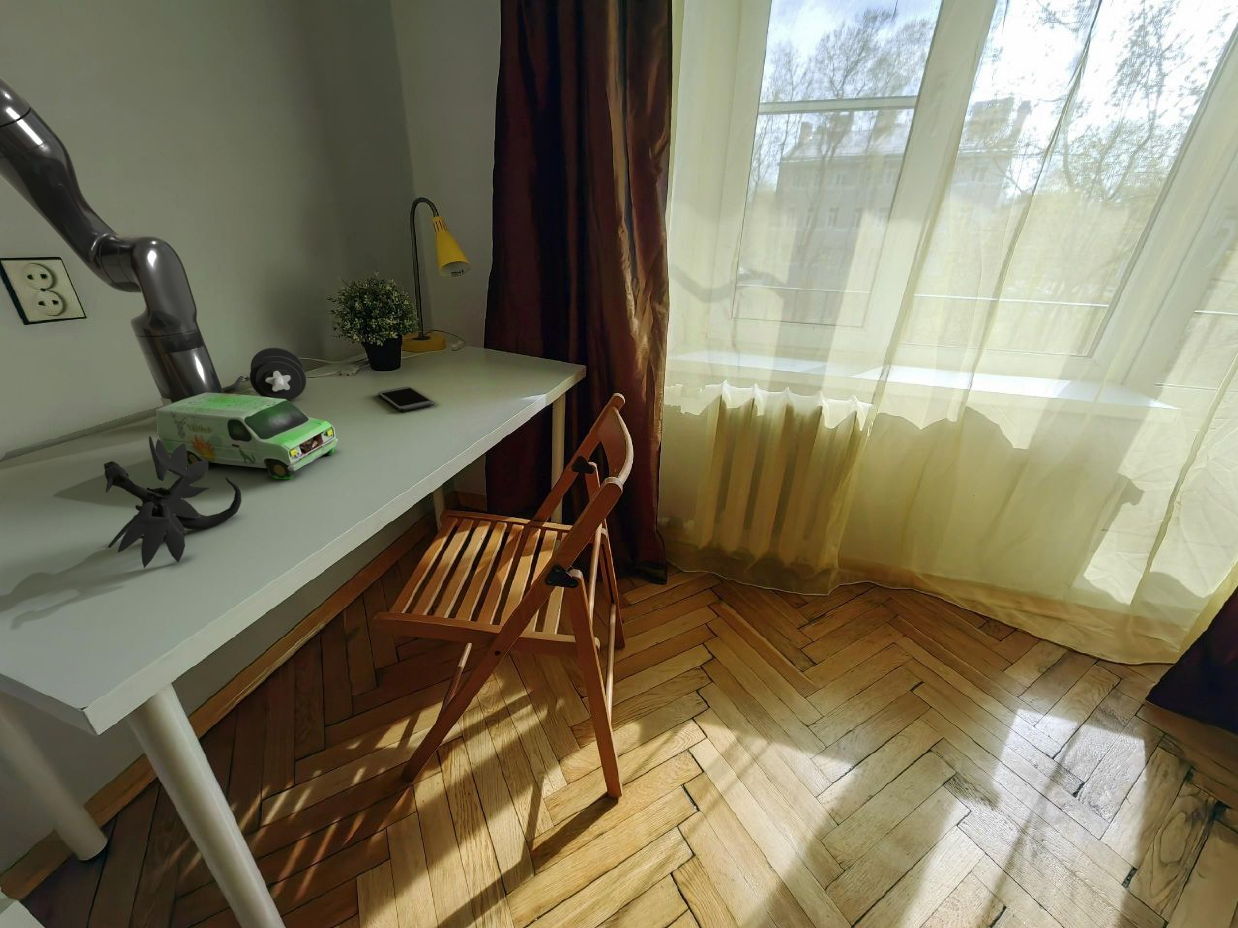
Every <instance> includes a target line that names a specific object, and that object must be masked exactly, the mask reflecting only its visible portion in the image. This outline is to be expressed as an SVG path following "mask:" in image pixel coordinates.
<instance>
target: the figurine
mask: <svg viewBox="0 0 1238 928" xmlns="http://www.w3.org/2000/svg"><path fill="white" fill-rule="evenodd" d="M148 445H149V449H150V454H151V457H152V461H153V465H154V467H155V474H156V478H157V479H158V481H160V482H164V480H165V477H166V474H167V473H168V472H169V473H171V474H173V475H176V476H178V478H177V479H176V481H174V482H173V484H172V485H171V486H170V487H168V488H165V487H155V488H150V487H146V488H144V487H142V486H140V485H138V484H136V483H135V482H134V481H133V480H132V479H131V478H130V474H129V473H128V472H127V471H126V469H124V468H123V467H121V466H120V464H119V463H117V462H116V461H114V460H110V461H108V462H105V463H103V467H104V477H105V479H106V481H107V482H106V487H105V490H104V494H107V493H108V492H109V491H110V490H111V489H112V488H113V486H114V487H117V488H120V489H122V490H124V491H126V492H128V493H129V494H131V495H133V496H134V497H136V498H138V499H139V500H141V505H139V504H135V506H134V508H135V510H136V511H138V512H137V514H135V515H133V517H132V518H131V519H130V520H129V521H128V522H127V523H126V524H125V525H124V526H123V527H122V528H121V530H119V532H118V533H117V534H116V535H115V536H114V538H113V539H112V540H111V542H110V543H109V544H108V547H107V548H108V549H111V548H112V547H113V546H114V545H116V543H117V542H118V541H119V540H120V538H121V540H120V543H119V546H118V548H117V554H119V553H121V552H123V551H125V550H126V549H128V548H129V547H131V546H132V545H134V543H136V542H137V541H139V540H140V539H142V540H141V548H140V555H141V563H142V566H143V569H145V568H146V567H147V566H148V565H149V564H150V563H151V561H152V560H153V559H154V557H155V555H156V554H157V552H158V550H159V549H160V547H161V545H162V544H163V541H165V544H166V547H167V550H168V552H169V554H170V555H171V556H172V558H173V559H174V560H175V561H176V562H177V563H179V562H180V561H181V558H182V557H183V555H184V551H185V547H186V541H185V535H186V534H188V533H187V531H186V529H187V530H207V529H209V528H214V527H216V526H218V525H221V524H223V523H225V522H226V521H228V520H230V519H231V518H232V517H234V516H235V515H236V514H237V513H238V511H239V509H240V507H241V504H242V489H241V488H240V487H239V486H238V485H237V484H236V483H235V482H233V481H232V480H230V479H229V478H228V477H225V480H226V482H227V483H228V484H229V485H230V486H231V487H232V489H233V490H234V495H233V500H232V501H231V504H230V505H229V507H228V508H226V509H225V510H222V511H221V512H218V513H214V514H209V515H206V514H201V513H199V512H198V511H197V509H196V508H195V507H194V506H193V505H192V504H191V503H190V502H188V501H187V500H185V499H190V498H191V499H192V498H194V497H196V496H199V495H200V494H202V493H204V492H206V491H207V490H209V489H210V487H205V486H203V487H202V486H193V485H192V484H194V483H196V482H198V481H200V480H202V479H204V477H205V475H206V474H207V472H208V469H209V467H208V460H207V461H198V462H195V463H193V464H191V465H189V466H188V465H187V449H186V446H185V444H182V445H180V446H179V447H177V448H176V449H175V450H174V452H173V453H172V455H170V456H169V454H168V452H167V450H166V449H165V447H164V445H163V444H162V442H161V441H160V439H159V438H157V440H156V443H155V444H154V441H153V438H152V436H151V435H149V436H148ZM184 534H185V535H184Z"/></svg>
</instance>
